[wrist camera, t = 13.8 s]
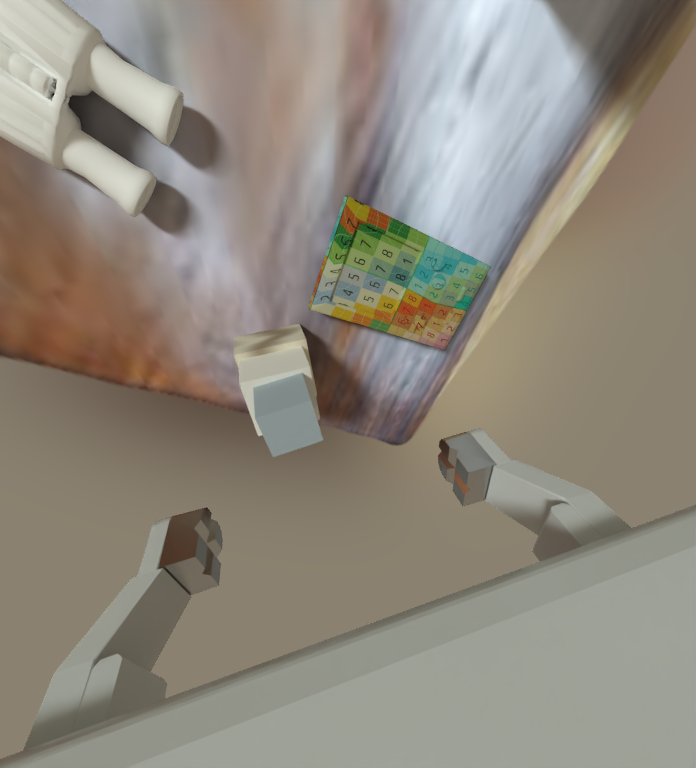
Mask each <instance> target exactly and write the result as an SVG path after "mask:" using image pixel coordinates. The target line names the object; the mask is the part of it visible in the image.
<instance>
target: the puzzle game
mask: <svg viewBox="0 0 696 768" xmlns="http://www.w3.org/2000/svg"><path fill="white" fill-rule="evenodd" d="M490 268H491V266H489V265H487V264H485V263H483V262H481V261H479V260H477V259H475V258H473V257H471V256H469V255H467V254H465V253H463V252H461V251H459V250H457V249H455V248H453V247H450V246H448V245H446V244H444V243H442V242H440V241H438V240H436V239H434V238H432V237H430V236H428V235H426V234H424V233H422V232H420V231H418V230H416V229H414V228H412V227H410V226H408V225H406V224H404V223H402V222H400V221H398V220H395V219H393V218H391V217H389V216H387V215H385V214H383V213H381V212H379V211H377V210H375V209H373V208H371V207H369V206H367V205H365V204H363V203H361V202H359V201H357V200H355V199H353V198H351V197H349V196H345V197H344V200H343V203H342V206H341V209H340V212H339V215H338V218H337V221H336V224H335V227H334V230H333V233H332V236H331V239H330V242H329V245H328V248H327V251H326V254H325V257H324V261H323V264H322V267H321V270H320V273H319V276H318V279H317V282H316V285H315V288H314V291H313V294H312V297H311V300H310V303H309V306H308V307H309V309H310V310H312V311H316V312H319V313H322V314H326V315H329V316H332V317H336V318H339V319H342V320H346V321H349V322H352V323H356V324H359V325H362V326H366V327H369V328H373V329H376V330H379V331H383V332H386V333H389V334H393V335H396V336H399V337H403V338H406V339H409V340H413V341H416V342H419V343H423V344H426V345H429V346H433V347H436V348H439V349H443V350H445V349H446V347H447V346H448V344H449V342H450V340H451V338H452V337H453V335H454V333H455V331H456V329H457V328H458V326H459V324H460V322H461V320H462V319H463V317H464V315H465V313H466V311H467V309H468V308H469V306H470V304H471V302H472V300H473V299H474V297H475V295H476V293H477V291H478V290H479V288H480V286H481V284H482V282H483V281H484V279H485V277H486V275H487V273H488V271H489V270H490Z"/></svg>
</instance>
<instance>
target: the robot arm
mask: <svg viewBox="0 0 696 768" xmlns="http://www.w3.org/2000/svg"><path fill="white" fill-rule="evenodd" d="M439 448H440V449H441V453H440V454H439V455H438V463H439V467H440V470H441V472H442V475H443V476H444V478H445V479H446V481H448V482H450V483H452V484H453V492H454V493H455V495H456V496H457V498H458V500H459V501H460V503H461V504H462V506H466V505H469V504H473V503H476V502H480V501H483V500H486V502H487V503H489V504H491V505H492V506H494V507H495V508H497V509H498V510H500V511H502V512H503V513H504V514H506V515H508V516H509V517H511V518H512V519H514V520H515V521H517V522H518V523H520V524H521V525H523V526H525V527H526V528H528V529H529V530H531V531H532V532H534V533H535V534H537V535H538V538H537V541H536V543H535V545H534V547H533V553H534V554H535V555H536V557H537V558H538V559H539V561H540V562H538V563H535V564H532V565H530V566H527V567H524V568H521V569H519V570H516V571H513V572H510V573H508V574H505V575H502V576H499V577H496V578H494V579H491V580H488V581H486V582H483V583H480V584H478V585H475V586H472V587H469V588H467V589H464V590H461V591H458V592H456V593H453V594H450V595H447V596H444V597H442V598H439V599H436V600H434V601H431V602H428V603H425V604H423V605H420V606H417V607H414V608H412V609H409V610H406V611H403V612H401V613H398V614H396V615H393V616H390V617H387V618H384V619H382V620H379V621H376V622H374V623H371V624H368V625H365V626H362V627H360V628H357V629H354V630H351V631H349V632H346V633H343V634H341V635H338V636H335V637H332V638H330V639H327V640H324V641H321V642H319V643H316V644H313V645H310V646H308V647H305V648H302V649H300V650H297V651H294V652H291V653H289V654H286V655H283V656H280V657H278V658H275V659H272V660H269V661H267V662H264V663H261V664H259V665H256V666H253V667H250V668H248V669H245V670H242V671H239V672H237V673H234V674H231V675H228V676H226V677H223V678H220V679H218V680H215V681H212V682H209V683H207V684H204V685H201V686H198V687H196V688H193V689H190V690H188V691H185V692H182V693H179V694H177V695H174V696H171V697H168V698H165V694H166V687H167V683H166V681H165V680H164V679H163V678H161V677H159V676H157V675H156V674H153V673H152V672H151V670H152V668H153V666H154V664H155V662H156V661H157V659H158V657H159V655H160V653H161V651H162V650H163V648H164V646H165V644H166V642H167V640H168V639H169V637H170V635H171V633H172V631H173V629H174V627H175V626H176V624H177V622H178V620H179V618H180V616H181V615H182V613H183V611H184V609H185V608H186V606H187V604H188V602H189V600H190V598H191V596H190V595H193V594H196V593H199V592H202V591H204V590H207V589H210V588H213V587H216V586H219V579H220V567H221V563H220V562H219V560H218V559H217V556H218V555H219V553H220V552H221V550H222V533H221V529H220V526H219V524H218V522H217V521H215V520H213V519H211V514H212V513H211V512H210V510H209V509H208V508H202V509H199V510H195V511H191V512H187V513H184V514H179V515H176V516H172V517H168V518H165V519H162V520H158V521H156V522H155V523H154V524H153V526H152V528H151V532H150V535H149V539H148V542H147V545H146V549H145V552H144V556H143V560H142V563H141V566H140V570H139V573H138V576H135V577H133V578H131V580H130V581H129V582H128V583H127V585H126V586H125V587H124V588H123V590H122V591H121V592H120V593H119V594H118V596H117V597H116V598H115V599H114V601H113V602H112V603H111V604H110V606H109V607H108V608H107V609H106V610H105V612H104V613H103V614H102V615H101V617H100V618H99V619H98V620H97V622H96V623H95V624H94V625H93V626H92V628H91V629H90V630H89V631H88V632H87V634H86V635H85V636H84V637H83V639H82V640H81V641H80V642H79V643H78V645H77V646H76V647H75V648H74V650H73V651H72V652H71V653H70V655H69V656H68V657H67V658H66V660H65V661H64V662H63V663H62V664H61V666H60V667H59V668H58V670H57V671H56V672H55V673H54V675H53V678H52V680H51V682H50V685H49V687H48V690H47V692H46V695H45V697H44V700H43V702H42V705H41V708H40V710H39V713H38V715H37V717H36V720H35V722H34V725H33V727H32V730H31V732H30V735H29V737H28V740H27V742H26V745H25V747H24V750H23V751H21V752H18V753H15V754H12V755H10V756H7V757H4V758H2V759H0V768H696V505H694V506H691V507H688V508H685V509H683V510H680V511H677V512H675V513H672V514H669V515H666V516H663V517H661V518H658V519H655V520H653V521H650V522H647V523H644V524H642V525H639V526H636V527H633V528H631V527H630V526H629V525H628V524H626V523H625V522H624V521H623V520H622V519H621V518H620V517H619V516H618V515H617V514H616V513H615V512H613V511H612V510H611V509H610V508H609V507H608V506H607V505H606V504H605V503H603V501H601V500H600V499H599V498H598V497H597V496H596V495H595V494H594V493H593V492H591V491H589V490H587V489H584V488H582V487H579V486H577V485H575V484H572V483H570V482H568V481H565V480H563V479H561V478H558V477H556V476H554V475H551V474H549V473H547V472H544V471H542V470H540V469H537V468H535V467H532V466H530V465H528V464H525V463H523V462H521V461H518V460H516V459H514V460H511V459H510V458H509V457H508V456H507V455H506V454H505V453H504V452H503V451H502V450H501V449H500V448H499V446H498V445H497V444H496V443H495V442H494V441H493V440H492V439H491V438H490V437H489V436H488V435H487V434H486V433H485V431H483V430H482V429H480V428H479V429H475V430H472V431H468V432H464V433H460V434H457V435H454V436H451V437H447V438H444V439H441V441H440V442H439Z"/></svg>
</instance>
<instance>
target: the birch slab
mask: <svg viewBox="0 0 696 768" xmlns="http://www.w3.org/2000/svg"><path fill="white" fill-rule="evenodd" d="M300 346H302V348H303V350H304V353H305V356H306V358H307V361H308V363H309V366H310V370H311V375H312V380H313V385H314V390H315V395H316V396H317V391H316V386H315V381H314V376H313V371H312V366H311V361H310V356H309V351H308V347H307V342H306V338H305V336H304V333H303V331H302V329H301V326H300V324H296V325H291V326H287V327H282V328H277V329H273V330H268V331H263V332H259V333H254V334H249V335H245V336H240V337H235V338H234V357H235V360H236V363H237V366H238V368H239V360H242V359H247V358H251V357H255V356H260V355H264V354H269V353H273V352H278V351H282V350H287V349H291V348H296V347H300Z"/></svg>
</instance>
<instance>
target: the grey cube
mask: <svg viewBox="0 0 696 768" xmlns="http://www.w3.org/2000/svg"><path fill="white" fill-rule="evenodd" d="M253 393H254V410H255V419H256V422H257V424H258V426H259V428H260V430H261V432H262V435H263V437H264V439H265V441H266V443H267V445H268V447H269V450H270V452H271V454H272V456H273V457H275V456H278V455H281V454H284V453H287V452H290V451H293V450H296V449H299V448H302V447H305V446H308V445H310V444H314V443H317V442H320V441H323V437H322V434H321V431H320V428H319V425H318V421H317V418H316V415H315V412H314V408H313V405H312V402H311V399H310V396H309V393H308V390H307V387H306V384H305V380H304V377H303V374H302V373H300V374H297V375H293V376H290V377H287V378H283V379H280V380H277V381H273V382H270V383H267V384H264V385H260V386H257V387H254V388H253Z"/></svg>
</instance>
